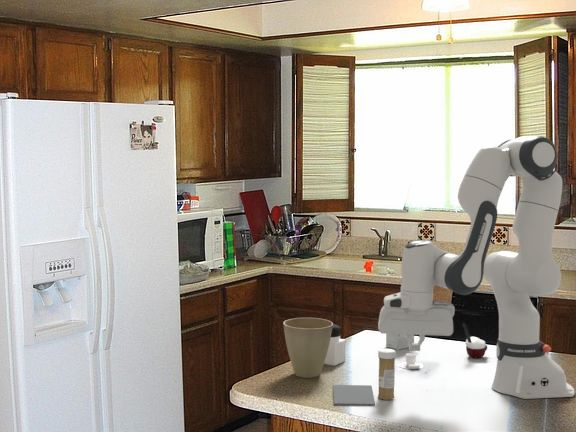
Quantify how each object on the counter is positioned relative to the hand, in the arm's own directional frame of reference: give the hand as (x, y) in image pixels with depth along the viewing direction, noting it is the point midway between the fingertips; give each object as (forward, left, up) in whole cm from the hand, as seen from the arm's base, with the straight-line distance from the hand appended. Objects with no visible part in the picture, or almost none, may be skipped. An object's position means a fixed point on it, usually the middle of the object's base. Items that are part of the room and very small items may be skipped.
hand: (414, 350), depth 230 cm
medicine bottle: (+22, -37, -14) cm, 46 cm away
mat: (+16, -2, -14) cm, 21 cm away
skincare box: (-2, -58, -14) cm, 60 cm away
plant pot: (+29, -22, -14) cm, 39 cm away
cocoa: (-25, -45, -14) cm, 53 cm away
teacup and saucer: (0, -32, -14) cm, 35 cm away
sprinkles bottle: (+7, 0, -14) cm, 16 cm away
